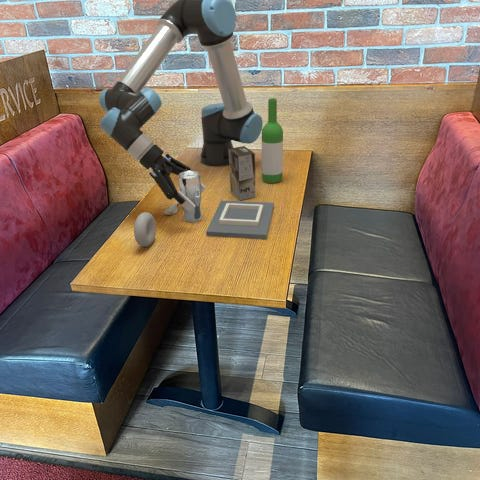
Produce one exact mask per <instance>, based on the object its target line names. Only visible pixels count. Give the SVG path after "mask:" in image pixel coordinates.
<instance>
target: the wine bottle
mask: <svg viewBox="0 0 480 480" xmlns="http://www.w3.org/2000/svg"><path fill="white" fill-rule="evenodd" d="M277 101H278V100H277V98H268V102H267V103H268V105H267V107H268V109H267V111H268V113H267V120H268V121H267V123H265V125H263V126H262V131H261V178H262V181H263V182H265V183H267V184H277V183H279V182H281V181H282V180H283V171H284V170H283V168H284V165H283V164H284V130H283V127H282V125H281V124H280V123H279V122H278V121H277V120H278V119H277V117H278V115H277V113H278V112H277V111H278V107H277V105H278V104H277V103H278V102H277Z"/></svg>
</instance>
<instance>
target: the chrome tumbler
mask: <svg viewBox="0 0 480 480" xmlns="http://www.w3.org/2000/svg"><path fill="white" fill-rule="evenodd" d="M177 177H178V192H179V191H180V192H181V193H182V194H183V195H185V196H186V197H187V198H188V199H189V200H190V201H191V202H192V203H193V204H195V205H196V206H195V207H194V208H193V209H192V210H191V211H190V212H189V211H188V210H187V209H185V208H184V207H183V220H184V221H185V222H187V223H196V222H200V221H201V220H203V213H202V210H201V201H202V194H203V192H202V188H201V183H202V179H201V174H200V172H198V171H197V170H196V171H195V170H192V171H184V172H181V173H180V174H179V175H177Z"/></svg>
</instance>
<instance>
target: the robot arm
mask: <svg viewBox="0 0 480 480" xmlns="http://www.w3.org/2000/svg"><path fill="white" fill-rule="evenodd" d="M236 21H237V13H236V8H235V7H234V5H233V3H232V2H231V0H176V1H175V2H173V3H172V4H171V5H170V6H169V7H168V8H167V9H166V10H165V12H164V13H163V14H162V16H160V18H159V19H158V20H157V28H156V29H155V30H154V32H153V33H152V35H151V36H150V37H149V38H148V39H147V41H146V42H145V43H144V45H143V47H142V48H141V49H140V50H139V52H138V53H137V55H136V56H135V57H134V59H133V60H132V61H131V63H130V64H129V65H128V67H127V68H126V69H125V71H124V72H123V73H122V75H121V76H120V77H119V79H118V80H117V81H116V83H115V84H114V85H113V86H112V88H105V89H104V90H102V91H101V92H100V94H99V97H98V101H99V105H100V107H101V108H102V110H103V111H105V112H106V113H105V114H104V116H103V117H102V119H100V122H99V127H100V128H101V129H102V130H103V131H104V132H105V133H106V134H107V135H108V137H110V138H111V139H112V140H114V142H116V144H118V145H119V146H120V147H122V148H123V149H124V150H125V151H126V152H127V153H128V154H129V155H130V156H132V157H133V158H134V159H135V160H139V161H138V162H139V164H140V165H142V167H144V168H145V169H146V170H150V169H151V171H149V176H151V178H152V179H153V180H154V181H155V183H156V184H157V186H158V187H159V188H160V190H161V192H162V193H163V194H164V196H165V198H166V199H167V200H173V199H175V201H176V202H179V204H180V205H181V206H182V207H183V209H184V208H185V209H187V210H188V211H189V212H190V211H191V210H192V209H193V208H194V207H195V206H196V205H195V204H193V203H192V202H191V201H190V200H189V199H188V198H187V197H186V196H185V195H183V194H182V193H181V192H180V191H179V190H178V189H177V187H176V186H175V184H174V181H173V179H172V178H171V174H174V175H176V176H178V175H179V174H180V173H181V172H184V171H193V169H192V168H191V167H189V166H188V165H186V164H184V163H182V162H181V161H179V160H177V159H175V158H174V157H173V156H171V154H169V153H166V154H165V155H164V156H163V154H164V150H163V149H162V148H161V147H159V146H158V144H153V143H154V141H153V140H152V139H151V138H150V137H149V136H148V135H147V134H145V132H144V131H142V130H141V128H142V127H143V126H144V125H145V124H146V123H147V122H148V121H149V120H150V119H151V118H152V117H154V116H155V115H156V114H157V112H158V111H159V110H160V108H161V107H162V104H163V103H162V99H161V98H160V96H159V94H158V92H156V91H155V90H154V89H153V88H150V87H146V85H147V84H148V83H149V81H150V80H151V78H152V77H153V76H154V74H155V72H157V70H158V69H159V67H160V66H161V64H163V61H164V60H165V59H166V58H167V56H168V55H169V53H170V52H171V51H172V50H173V49H174V46H175V45H176V44H179V43H181V42H182V41H183V40H184V38H185V37H187V36H188V35H189V36H190V35H197V38H198V41H199V44H200V46H202V47H203V48H206V51H207V54H208V58H209V60H210V65H211V67H212V70H213V73H214V77H215V81H216V84H217V87H218V91H219V94H220V97H221V99H222V102H219V103H214V104H213V103H212V104H207V105H205V106H203V107H202V109H201V111H200V112H201V117H200V118H201V128H202V129H201V130H202V140H203V141H202V142H203V143H202V147H201V152H200V163H202V164H203V165H206V166H210V167H211V166H212V167H220V166H221V167H222V166H227V165H228V166H229V149H231V148H235V147H234V146H233V142H238V143H241V144H248V145H249V144H250V145H251V144H253V143H254V142H256V141H257V140H258V139H259V137H260V136H261V134H262V129H263V127H264V122H263V118H262V116H261V115H260V114H259V113H257V112H256V113H255V112H254V107H253V105H252V103H251V102H249V101H247V97H246V93H245V89H244V87H243V82H242V79H241V75H240V71H239V68H238V67H239V66H238V63H237V60H236V56H235V52H234V48H233V45H232V41H231V40H232V38H233V36H234V31H235V28H236V26H237V24H236ZM232 141H233V142H232ZM201 188H202V193H203V192H204V191H205V190H206V188H207V186H205V185H204V184H203V183H202V182H201Z"/></svg>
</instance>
